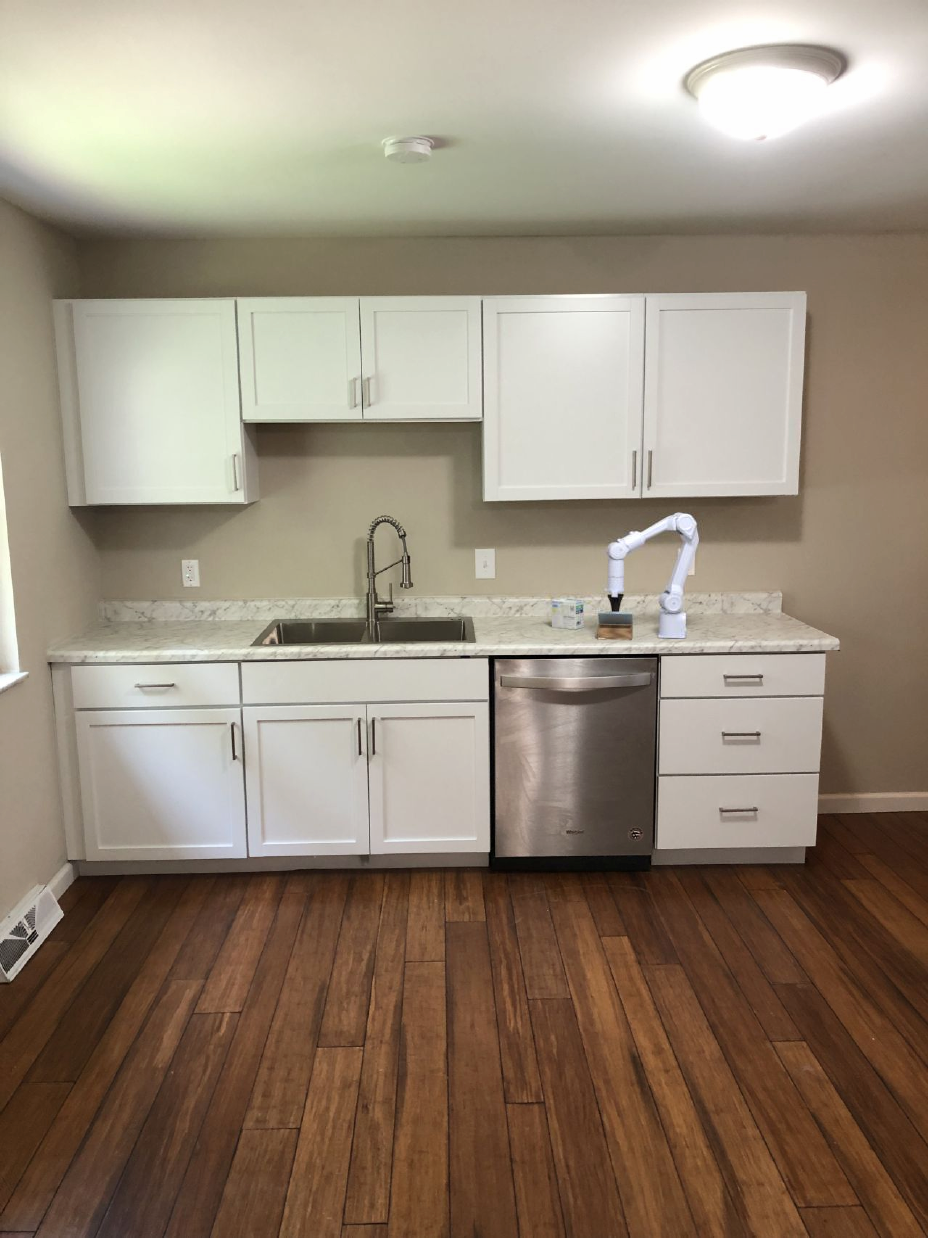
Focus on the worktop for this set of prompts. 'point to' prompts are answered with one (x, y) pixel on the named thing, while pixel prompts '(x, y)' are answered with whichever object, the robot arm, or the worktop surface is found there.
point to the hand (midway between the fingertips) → (615, 614)
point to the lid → (615, 618)
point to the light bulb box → (567, 613)
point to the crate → (615, 631)
